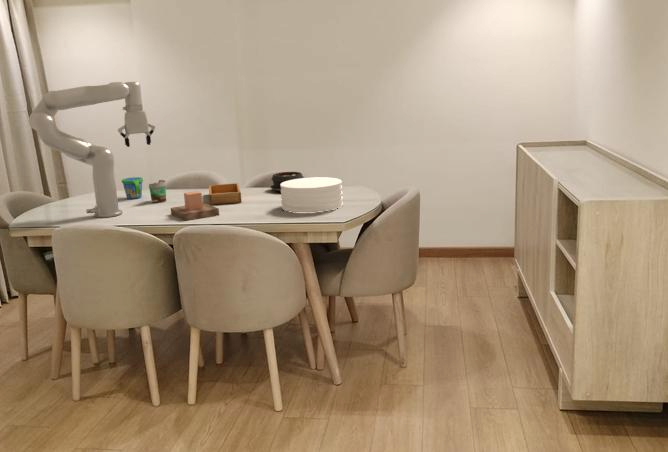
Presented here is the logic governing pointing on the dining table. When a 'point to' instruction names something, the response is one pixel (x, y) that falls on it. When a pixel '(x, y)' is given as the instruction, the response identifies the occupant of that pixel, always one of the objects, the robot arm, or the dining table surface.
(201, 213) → the walnut base
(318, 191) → the plate stack
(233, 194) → the tray
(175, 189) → the dining table surface
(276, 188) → the casserole
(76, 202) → the dining table surface
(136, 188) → the snack cup
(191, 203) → the terracotta block
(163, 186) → the food container
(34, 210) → the dining table surface
